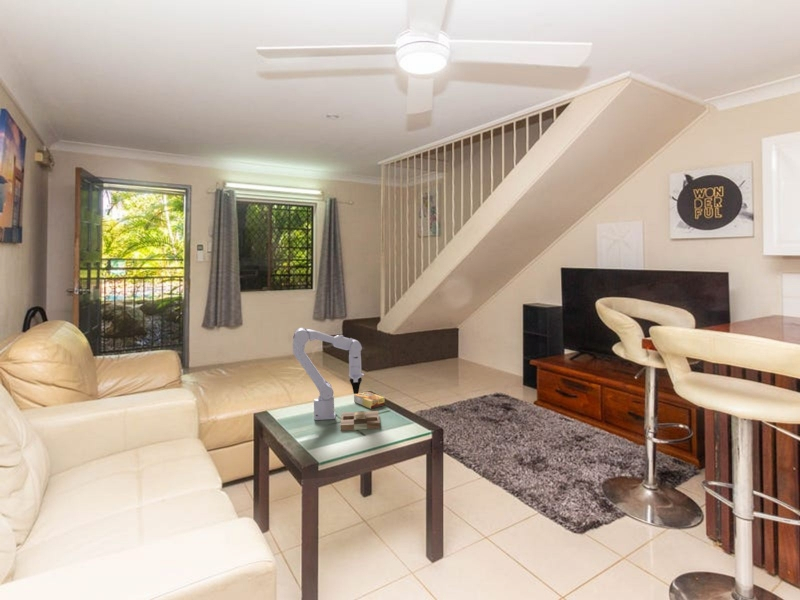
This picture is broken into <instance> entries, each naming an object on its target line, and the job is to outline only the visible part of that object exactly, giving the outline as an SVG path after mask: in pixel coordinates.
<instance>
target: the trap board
mask: <svg viewBox="0 0 800 600" xmlns="http://www.w3.org/2000/svg"><path fill="white" fill-rule="evenodd" d="M364 411H365V410H364ZM355 412H356V411H349V412H348V411H347V412H341V414H340V431H357V430H373V429H375V430H376V429H381V420H380V414H379V411H378V410H370V411H369V410H368V411H365V419H356V415H355Z"/></svg>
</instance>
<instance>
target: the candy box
mask: <svg viewBox="0 0 800 600" xmlns="http://www.w3.org/2000/svg"><path fill="white" fill-rule="evenodd" d="M385 398H386V397H385V396H381V395H379V394H375V393H373V392H370V391H368V390H367V391H364V392H360V393H358V394H354V395H353V400H354V403H355V404H359V405H361V406H364V407H366V408H367V409H374V408H379V407H381V406H385V405H386V404H385V401H386V400H385Z"/></svg>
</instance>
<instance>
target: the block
mask: <svg viewBox="0 0 800 600" xmlns="http://www.w3.org/2000/svg"><path fill="white" fill-rule="evenodd" d="M354 412H355V415H356V419H365V410H362V411H354Z"/></svg>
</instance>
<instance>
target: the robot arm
mask: <svg viewBox="0 0 800 600" xmlns="http://www.w3.org/2000/svg"><path fill="white" fill-rule="evenodd" d="M292 336H293V337H292V353H293V355H294V357H295V359H296V360H297V361H298V363H299V364H300V366H301V367H302V368H303V369H304V371H305V372H306V374H307V375H308V376H309V379H310V380H312V382H313V383H314V385H315V387H316V389H317V390H318V391H319V396H318V398H314V399H313V415H314V416H313V419H314V421H323V420H335V419H336V412H335V396H334V389H333V387H332V384H330V382H329V381H326V379H325V378H324V377H323V375H322V374H321V373H320V371H319V370H318V368H317V367H316V366H315V365H314V363H313V362H312V360H311V358H310V357H309V356H308V354H307V353H306V351H305V347H306V344H307V343H308V341H309V342H311V341H315V340H316V341H317V340H318V341H322V342H325V343H329V344H331V345H332V346H333V347H334V348H337V349H341V350H344V351H348V353H349V355H348V370H349V373H348V377H349V383H350V385H351V388H352V392H353V394H354V395H355V394H359V391H360V387H361V383H362V381H363V380H362V379H363V378H362V377H364V376H365V374H364V373H362V355H361V354H362V352H361V351H362V349H363V347H362V344H361V342H360V341H359V340H357V339H355V338H352V337H350V338H349V337H345V336H344V335H343V334H340V335H339V334H337V335H335V336H333V335H330V334H327V333H324V332H321V331H318V330H315V329H309V328H305V327H299V328H297V329H296V330H295V331H294V334H293V335H292Z"/></svg>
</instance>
